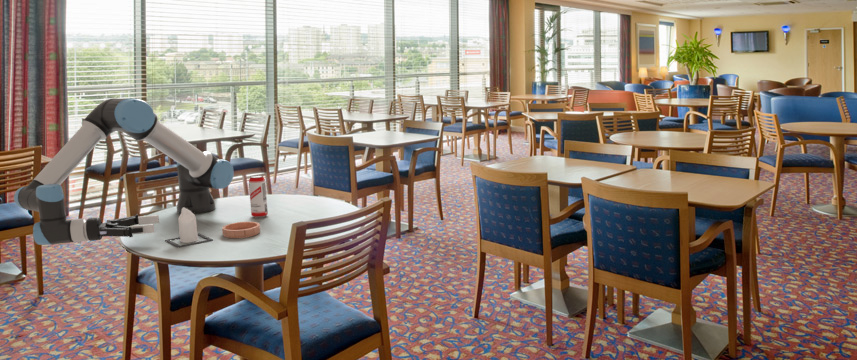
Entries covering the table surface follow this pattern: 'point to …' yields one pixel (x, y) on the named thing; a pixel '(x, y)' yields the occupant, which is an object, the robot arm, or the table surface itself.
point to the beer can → (258, 196)
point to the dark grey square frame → (189, 243)
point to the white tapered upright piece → (187, 226)
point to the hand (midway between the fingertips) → (156, 223)
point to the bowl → (241, 230)
